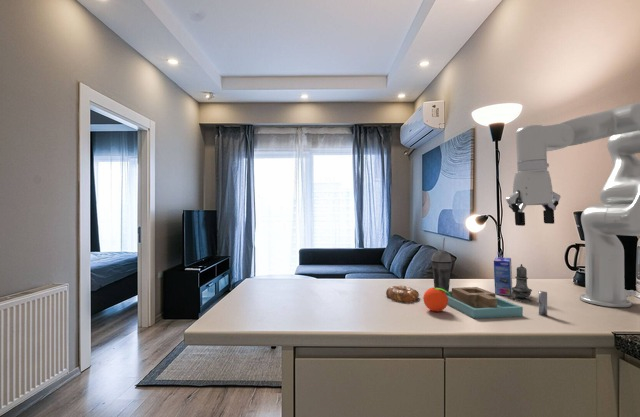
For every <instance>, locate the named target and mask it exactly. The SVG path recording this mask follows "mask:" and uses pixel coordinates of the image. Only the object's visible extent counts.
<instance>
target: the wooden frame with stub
mask: <svg viewBox="0 0 640 417" xmlns="http://www.w3.org/2000/svg"><path fill="white" fill-rule="evenodd" d="M451 291H452V298H454V299H456V300H458V301H460V302H462V303H465V304H467V305H469V306H471V307H473V308H494V307H497V298H498V297H497V296H496V295H497V294H495V292H492V291H489V290H486V289H484V288H481V287H478V286H472V287H471V286H467V287H452V288H451ZM496 297H497V298H496Z"/></svg>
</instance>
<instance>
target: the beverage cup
mask: <svg viewBox="0 0 640 417" xmlns="http://www.w3.org/2000/svg"><path fill="white" fill-rule="evenodd" d="M445 241H446V237H443V238H442V249H441V250H440V249H439V250H436V251H435V252H433V254H432V256H431V260H430V262H431V267H432V278H433V288H435V287H436V288H441V289H444V290H446V291H450V285H451V284H450V283H451V282H450V281H451V270H452V269H451V268H452V265H453V258H452V256H451V255H450V253H449V252H448V251H446V250H445V244H446V243H445ZM444 292H445V291H444Z"/></svg>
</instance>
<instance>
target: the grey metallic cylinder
mask: <svg viewBox="0 0 640 417" xmlns="http://www.w3.org/2000/svg"><path fill="white" fill-rule="evenodd" d="M538 315H539V316H542V317H547V316H548V291H543V290H539V291H538Z"/></svg>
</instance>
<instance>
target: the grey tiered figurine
mask: <svg viewBox="0 0 640 417" xmlns="http://www.w3.org/2000/svg"><path fill="white" fill-rule="evenodd" d="M527 275H528V274H527V268H526V267H524V265H523V263H521V264H520V266H518V267H516V276H515V279H516V281H515V283H516V284H515V286H512V288H511V289H512V294H513V295H514V296H513V297H512V300H513V301H515V300H516V301H515V302H520V301H521V302H520V303H530V302H532V300H531V298H528V297H530V296H531V294H532V292H533V289H531V288H530V287H529V286H528V279H529V277H527Z"/></svg>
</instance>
